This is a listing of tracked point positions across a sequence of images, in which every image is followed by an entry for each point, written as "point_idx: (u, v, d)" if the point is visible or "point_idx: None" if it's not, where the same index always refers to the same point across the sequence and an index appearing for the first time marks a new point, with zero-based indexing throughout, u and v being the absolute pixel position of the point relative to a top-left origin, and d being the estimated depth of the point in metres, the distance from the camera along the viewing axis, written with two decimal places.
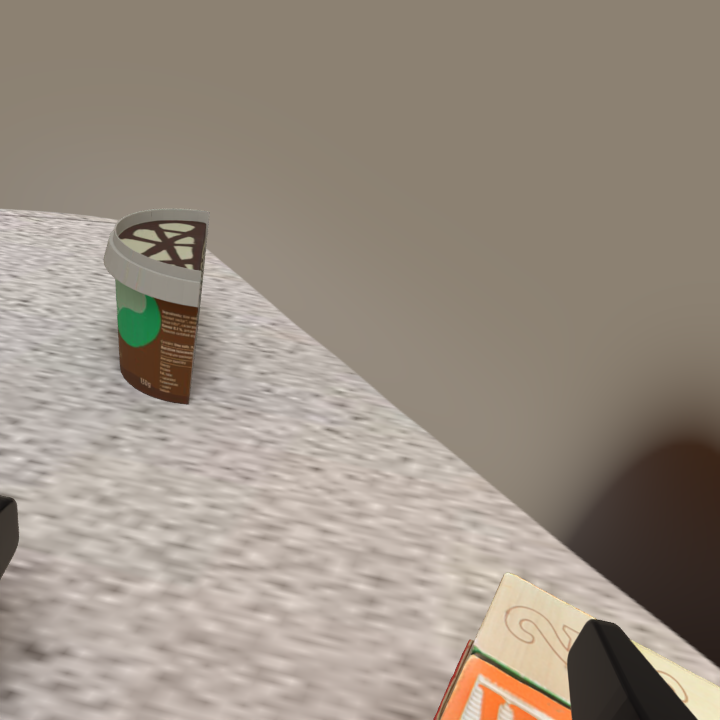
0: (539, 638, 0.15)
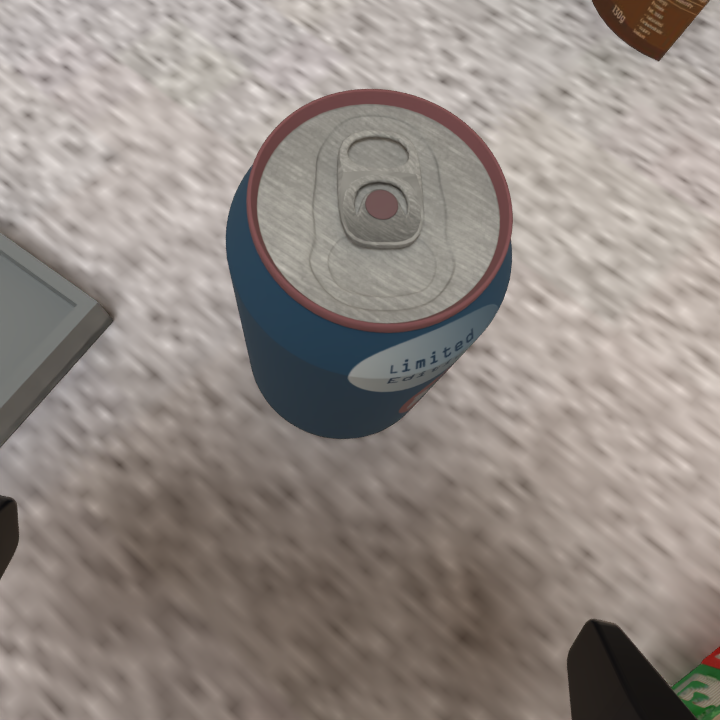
0: None
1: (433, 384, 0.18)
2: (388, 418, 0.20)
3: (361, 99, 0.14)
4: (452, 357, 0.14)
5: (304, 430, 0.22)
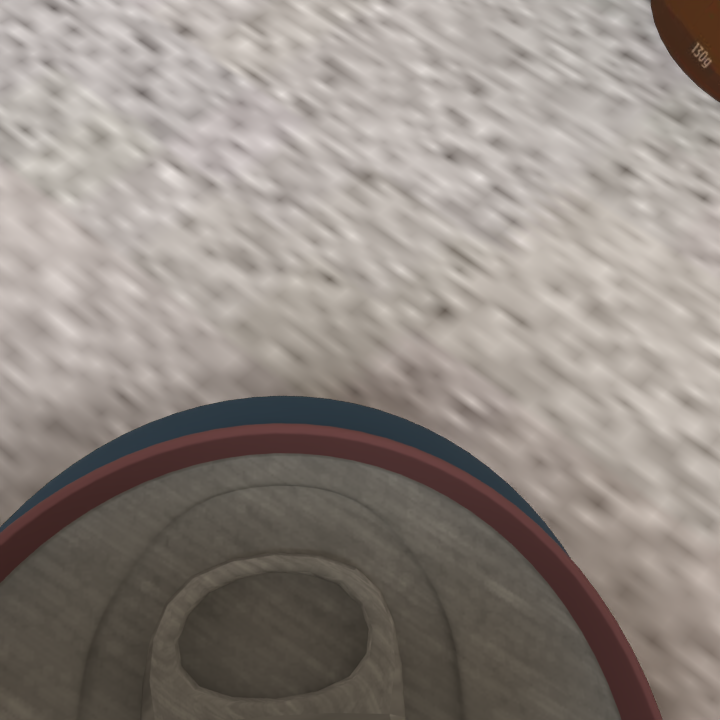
0: None
1: None
2: None
3: (231, 450, 0.05)
4: None
5: None
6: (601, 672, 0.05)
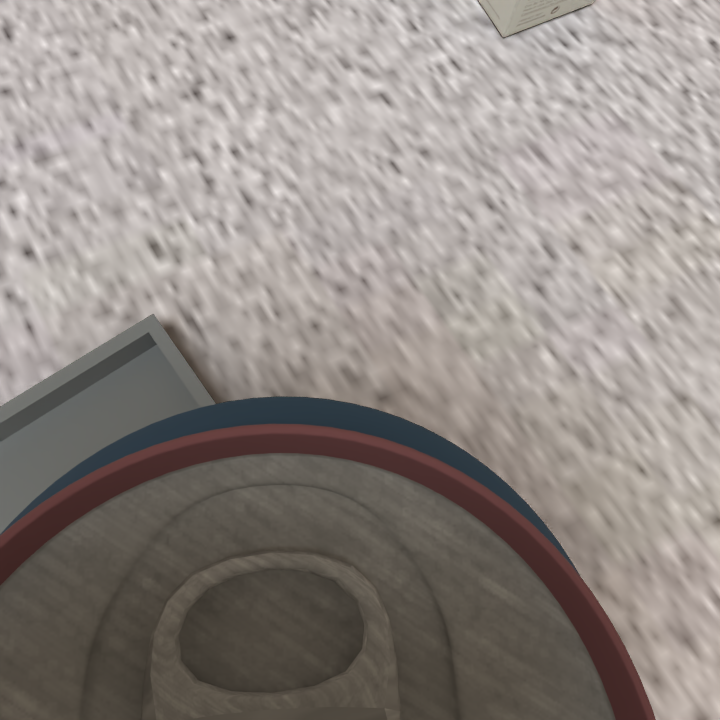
0: None
1: None
2: None
3: (230, 449, 0.05)
4: None
5: None
6: (594, 668, 0.05)
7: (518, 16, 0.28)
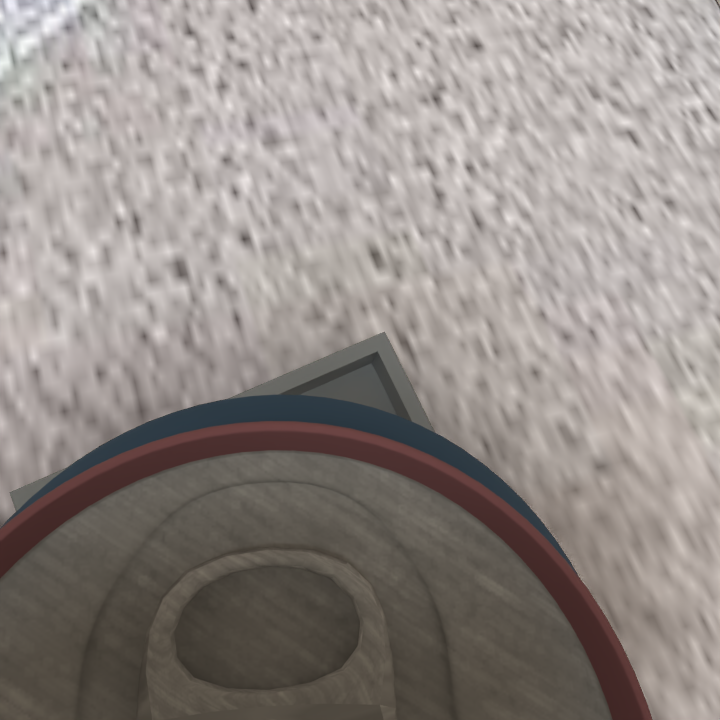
0: None
1: None
2: None
3: (225, 446, 0.05)
4: None
5: None
6: (590, 665, 0.05)
7: None
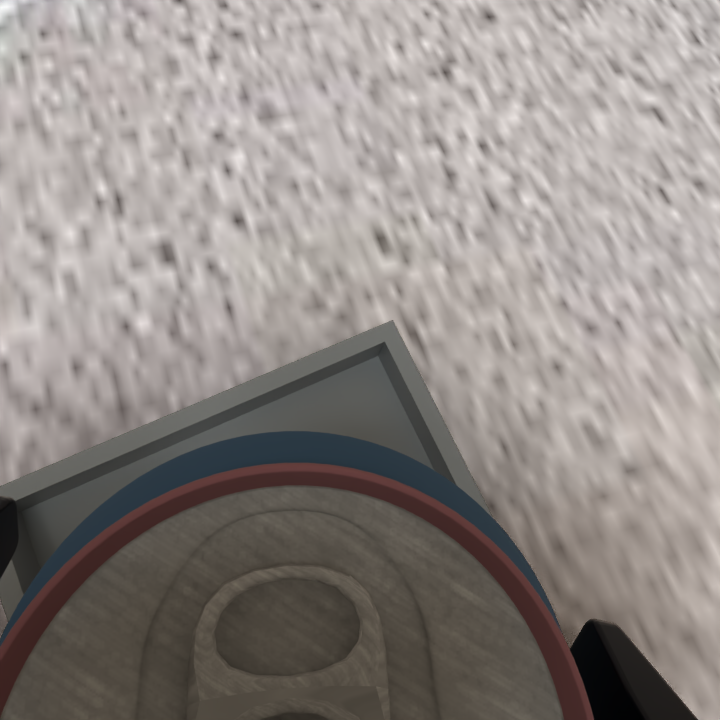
0: None
1: None
2: None
3: (252, 484, 0.06)
4: None
5: None
6: (540, 653, 0.06)
7: None
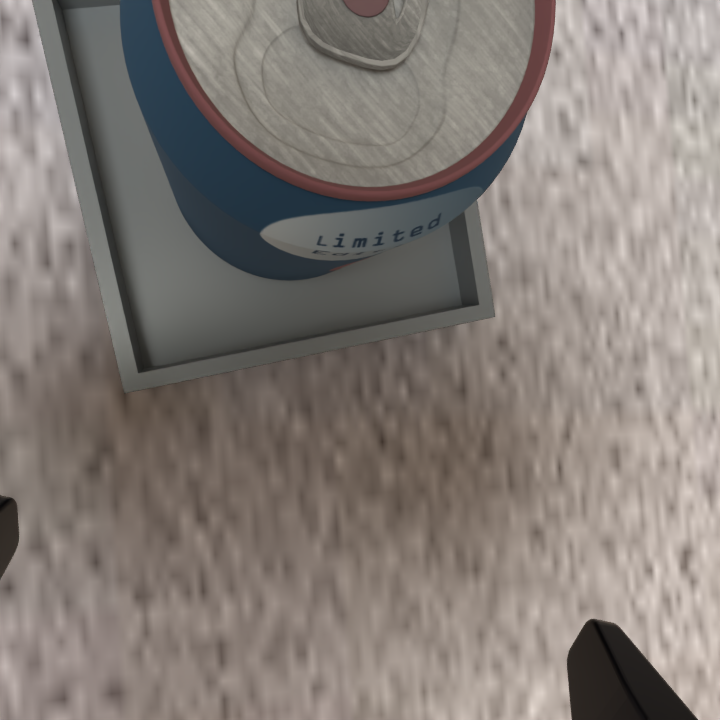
0: None
1: None
2: (316, 274, 0.16)
3: None
4: (404, 243, 0.10)
5: (218, 256, 0.18)
6: None
7: None
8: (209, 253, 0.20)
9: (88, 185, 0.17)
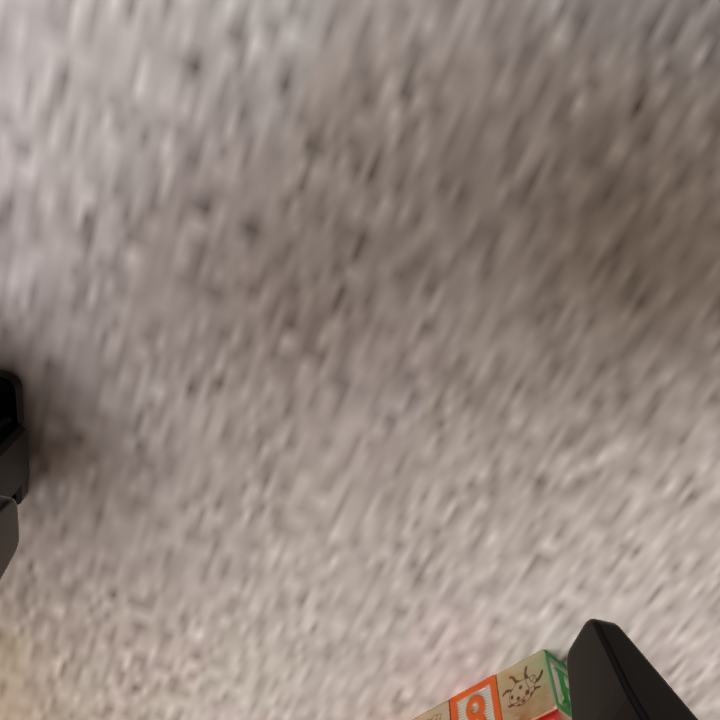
0: None
1: None
2: None
3: None
4: None
5: None
6: None
7: None
8: None
9: None
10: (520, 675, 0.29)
